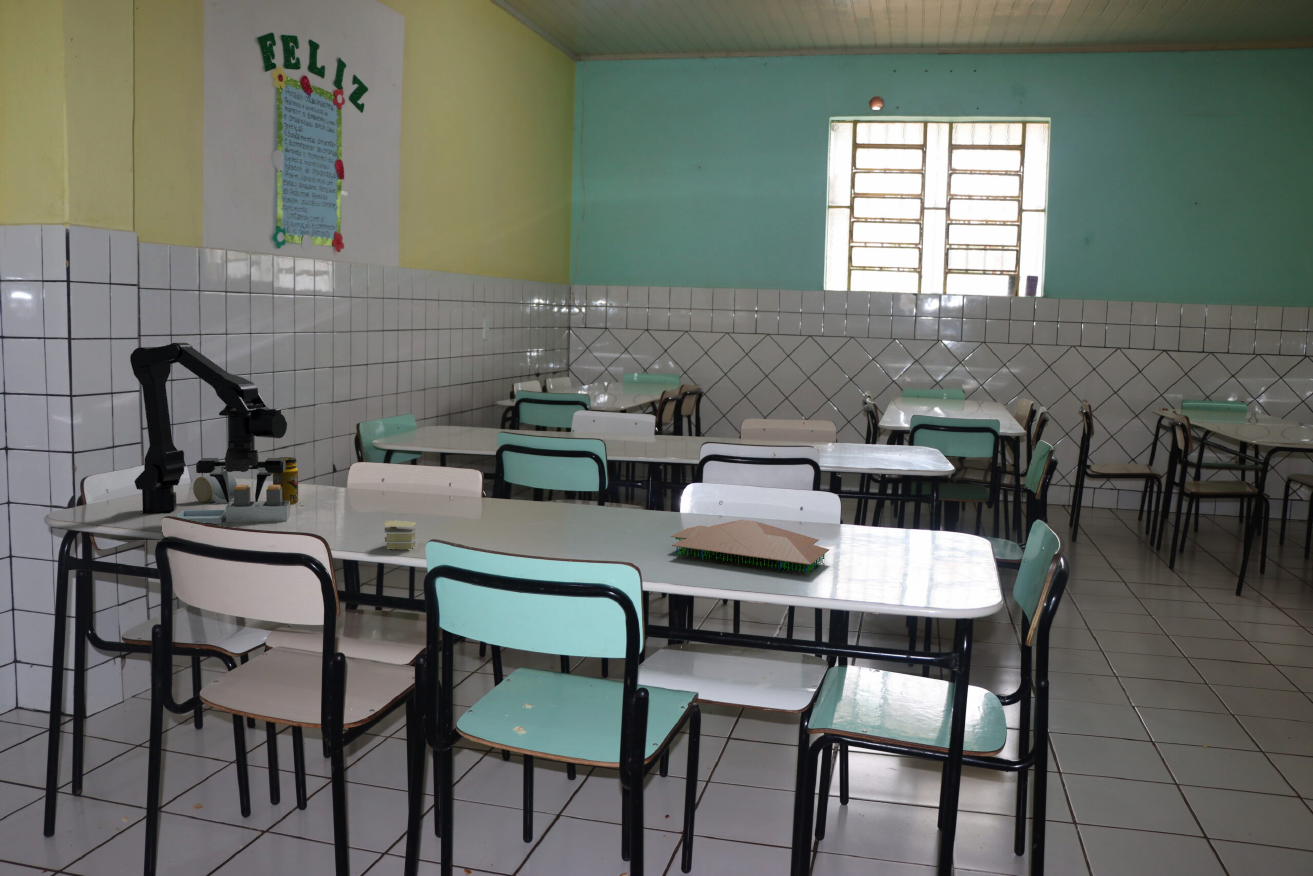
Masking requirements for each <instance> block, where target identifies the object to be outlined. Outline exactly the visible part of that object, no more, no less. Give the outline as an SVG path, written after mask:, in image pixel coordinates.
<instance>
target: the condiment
mask: <svg viewBox="0 0 1313 876" xmlns="http://www.w3.org/2000/svg"><path fill="white" fill-rule="evenodd" d="M278 458H284V459H285V462H286V469H285V471H284V472H282V473H272V485H280V486H281V487H282V501H290V506H291V505H295V504H298V502H299V469H298V468H297V458H296V457H293V456H292V457H291V456H290V457H289V456H282V457H278ZM301 506H305V504H304V503H300V504H299V507H301Z"/></svg>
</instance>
